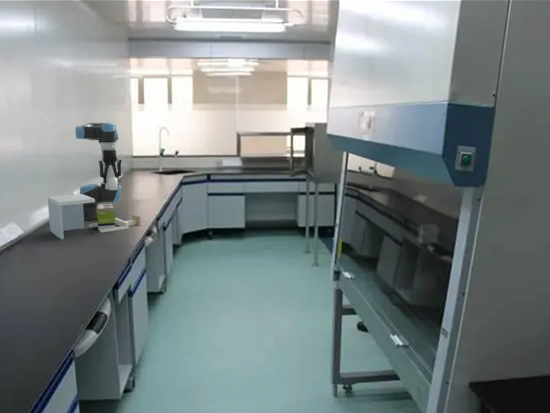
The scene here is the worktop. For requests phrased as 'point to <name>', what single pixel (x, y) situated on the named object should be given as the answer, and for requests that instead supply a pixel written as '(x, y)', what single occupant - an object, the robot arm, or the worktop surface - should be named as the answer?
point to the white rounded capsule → (113, 183)
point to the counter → (67, 212)
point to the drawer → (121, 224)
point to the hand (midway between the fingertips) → (111, 188)
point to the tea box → (105, 216)
